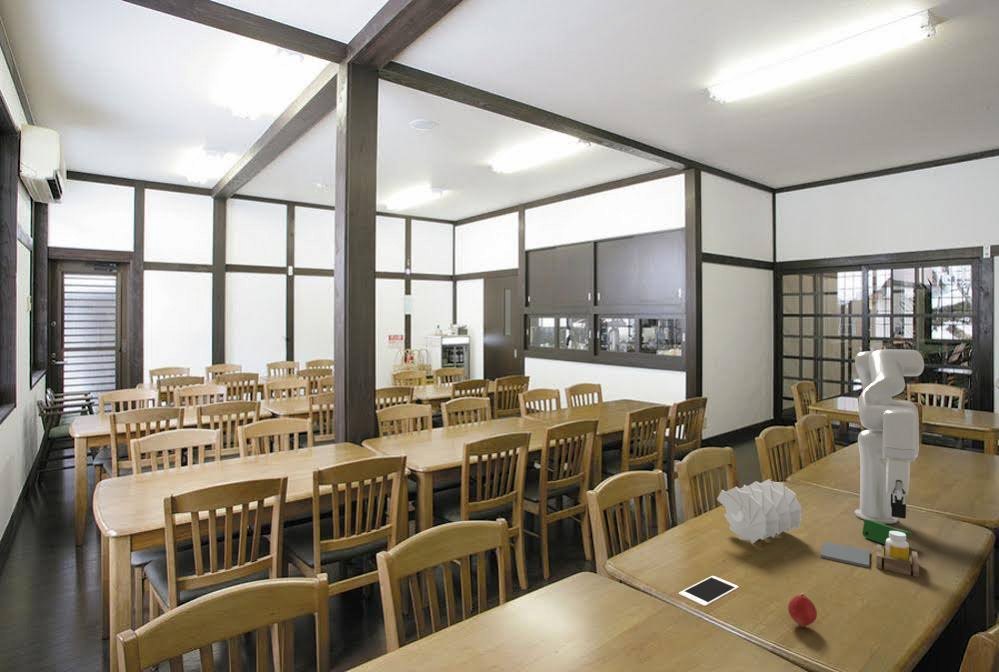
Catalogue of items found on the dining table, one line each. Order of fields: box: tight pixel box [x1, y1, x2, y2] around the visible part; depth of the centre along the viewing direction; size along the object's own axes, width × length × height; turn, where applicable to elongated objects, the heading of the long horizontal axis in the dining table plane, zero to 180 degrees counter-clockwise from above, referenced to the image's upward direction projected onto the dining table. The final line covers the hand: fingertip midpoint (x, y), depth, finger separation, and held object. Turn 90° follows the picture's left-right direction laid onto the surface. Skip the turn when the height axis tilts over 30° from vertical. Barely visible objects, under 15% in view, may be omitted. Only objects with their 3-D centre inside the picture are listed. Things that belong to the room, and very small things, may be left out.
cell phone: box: [678, 575, 740, 607], centre depth 141 cm, size 8×16×1 cm, turn 126°
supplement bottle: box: [885, 531, 910, 561], centre depth 154 cm, size 5×5×10 cm
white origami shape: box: [716, 478, 803, 545], centre depth 176 cm, size 18×18×25 cm
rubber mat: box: [820, 540, 871, 569], centre depth 162 cm, size 12×12×1 cm
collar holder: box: [875, 544, 920, 578], centre depth 154 cm, size 10×10×4 cm
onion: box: [787, 592, 818, 628], centre depth 125 cm, size 6×6×8 cm
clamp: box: [861, 519, 912, 546], centre depth 171 cm, size 12×6×9 cm, turn 19°
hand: (897, 512), depth 154 cm, fingers open, 9 cm apart
